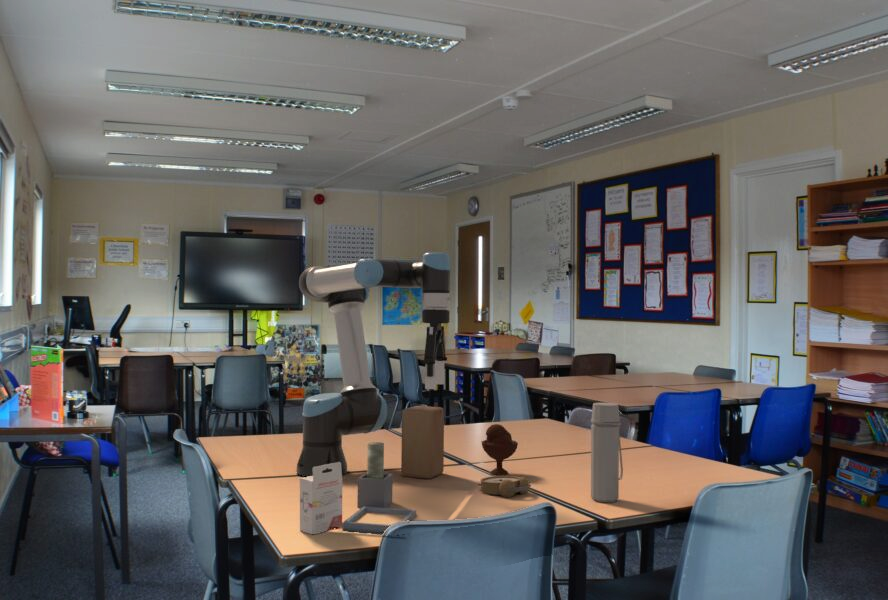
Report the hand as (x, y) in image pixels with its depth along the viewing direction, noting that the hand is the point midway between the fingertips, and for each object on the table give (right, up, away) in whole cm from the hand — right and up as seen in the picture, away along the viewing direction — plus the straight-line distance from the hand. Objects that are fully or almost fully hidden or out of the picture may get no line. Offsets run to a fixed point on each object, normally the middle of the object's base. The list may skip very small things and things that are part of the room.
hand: (434, 386), depth 201 cm
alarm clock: (+19, -29, -2) cm, 35 cm away
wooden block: (-4, -29, +19) cm, 35 cm away
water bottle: (+45, -29, -9) cm, 54 cm away
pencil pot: (-15, -28, -20) cm, 37 cm away
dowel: (-14, -27, -20) cm, 36 cm away
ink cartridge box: (-25, -28, -38) cm, 53 cm away
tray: (-12, -28, -34) cm, 45 cm away
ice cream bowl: (+19, -29, +22) cm, 41 cm away
